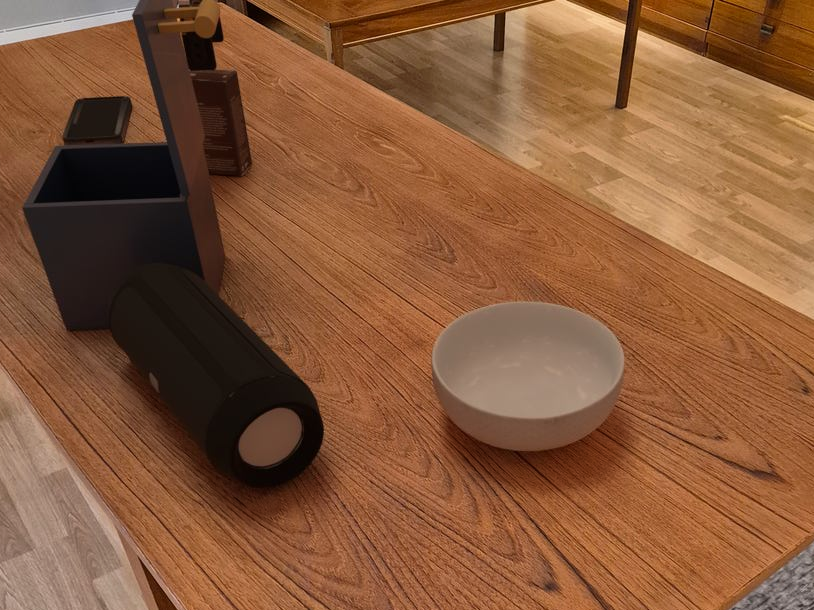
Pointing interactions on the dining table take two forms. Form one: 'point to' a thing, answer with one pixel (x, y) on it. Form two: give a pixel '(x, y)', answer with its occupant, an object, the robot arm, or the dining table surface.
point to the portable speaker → (216, 376)
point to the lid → (175, 77)
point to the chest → (118, 223)
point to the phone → (98, 121)
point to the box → (222, 121)
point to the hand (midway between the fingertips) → (207, 55)
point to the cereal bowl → (527, 374)
